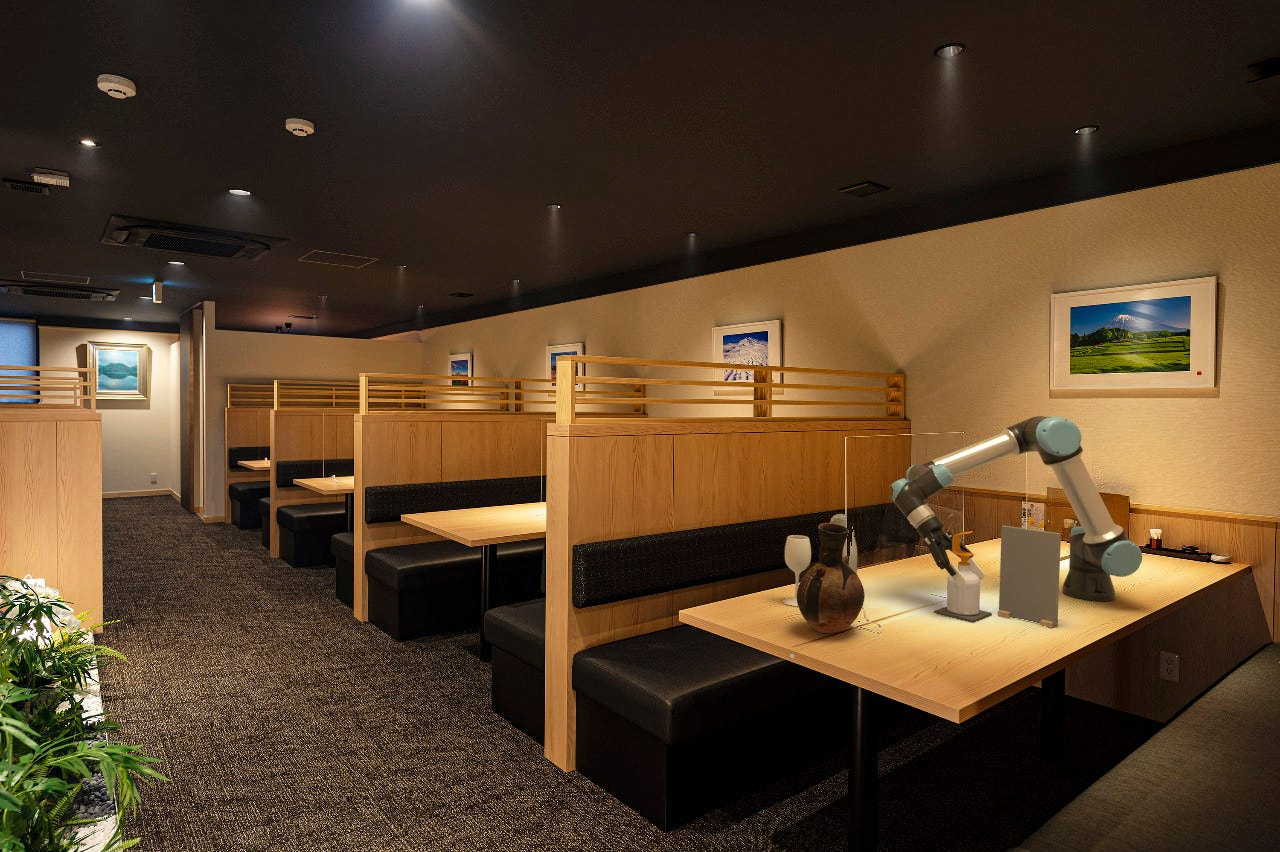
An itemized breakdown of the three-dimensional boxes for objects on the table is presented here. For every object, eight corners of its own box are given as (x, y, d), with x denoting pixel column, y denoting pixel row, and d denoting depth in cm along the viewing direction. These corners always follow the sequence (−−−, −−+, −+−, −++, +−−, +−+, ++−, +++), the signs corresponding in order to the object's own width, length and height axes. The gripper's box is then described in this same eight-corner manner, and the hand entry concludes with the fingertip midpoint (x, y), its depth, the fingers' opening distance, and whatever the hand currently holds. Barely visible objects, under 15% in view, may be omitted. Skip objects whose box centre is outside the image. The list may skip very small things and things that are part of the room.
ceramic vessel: (822, 616, 222) (825, 516, 220) (877, 629, 209) (879, 524, 208) (781, 631, 207) (784, 524, 206) (837, 647, 194) (840, 533, 193)
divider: (1003, 612, 227) (1006, 525, 226) (1059, 625, 215) (1063, 532, 214) (996, 615, 224) (999, 526, 223) (1052, 628, 212) (1056, 534, 211)
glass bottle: (824, 595, 245) (826, 510, 243) (856, 598, 242) (858, 512, 240) (822, 603, 235) (824, 515, 234) (855, 606, 232) (858, 517, 231)
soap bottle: (970, 617, 219) (972, 535, 217) (941, 610, 226) (942, 530, 224) (984, 612, 225) (987, 531, 223) (955, 605, 232) (957, 527, 230)
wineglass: (777, 602, 235) (778, 536, 234) (792, 597, 241) (794, 533, 241) (800, 608, 229) (802, 541, 228) (816, 603, 235) (817, 537, 234)
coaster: (953, 606, 234) (953, 603, 234) (991, 615, 224) (991, 612, 224) (933, 613, 226) (934, 610, 226) (973, 622, 217) (973, 620, 217)
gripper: (936, 525, 243) (981, 581, 232) (897, 533, 228) (944, 594, 217) (952, 511, 239) (999, 568, 228) (914, 519, 224) (962, 580, 213)
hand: (972, 581), depth 223 cm, fingers open, 11 cm apart
